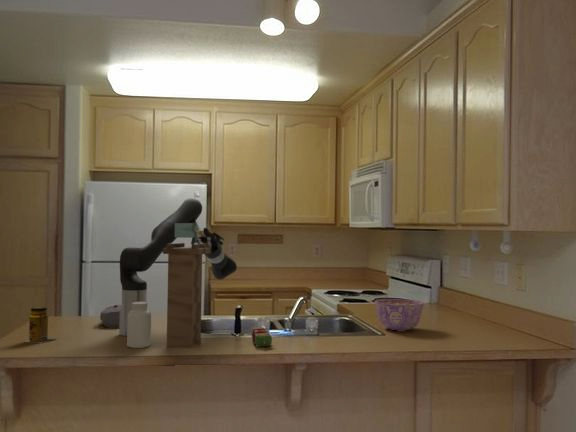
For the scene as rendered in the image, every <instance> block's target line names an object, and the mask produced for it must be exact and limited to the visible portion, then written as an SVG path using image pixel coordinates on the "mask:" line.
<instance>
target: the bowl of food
mask: <svg viewBox="0 0 576 432" xmlns="http://www.w3.org/2000/svg"><path fill="white" fill-rule="evenodd" d="M374 302H375V303H374V304H375V308H376V313H377V317H378V320H379V323H380V324H381V325H382V326H384V327H386V328H388V329H391V330H390V331H392V330H397V331H396V332H404V331H403V330H409V331H410V330H412V329H414V328H415V327H417V326H418V324H419V323H420V319H421V316H422V313H423V308H424V305H425V303H424V301H421V300H416V299H408V298H407V299H406V298H405V299H404V298H379V299H376V300H374Z"/></svg>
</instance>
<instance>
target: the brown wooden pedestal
mask: <svg viewBox="0 0 576 432" xmlns="http://www.w3.org/2000/svg"><path fill="white" fill-rule="evenodd" d="M209 253H211V248H208V244H206V243H205V244H197V243H194V244H191V246H189V247H188V246H185V242H177V243H176V242H175V243H173V242H172V243H171V244H167V248H163V252H162V254H163V255H168V256H167V260H168V261H167V299H166V300H167V305H166V306H167V308H166V311H167V312H166V313H167V314H166V316H167V317H166V347H167V348H180V349H182V348H183V349H193V348H194V347H196V346H198V345H200V344H201V343H202V338H201V337H202V285H203V282H202V281H203V278H202V277H203V255H204V254H209Z"/></svg>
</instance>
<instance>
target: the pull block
mask: <svg viewBox="0 0 576 432" xmlns="http://www.w3.org/2000/svg"><path fill="white" fill-rule="evenodd" d="M197 225H198V222H196V223H175V237H177V238H180V239H181V238H182V239H183V238H185V239H186V238H188V239H189V238H190V239H192V238H195V237H206V236H205V234H204V232H203V231H204V229H201V230H197Z"/></svg>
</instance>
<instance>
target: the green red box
mask: <svg viewBox="0 0 576 432" xmlns="http://www.w3.org/2000/svg"><path fill="white" fill-rule="evenodd" d="M251 338H252V343H253V344H254V345H255V346H256V347H258V348H261V347H270V346H272V341H273V338H272V335H271V333H270V331H268V330H267V329H266V328H264V327H257V326H256V327H252V333H251Z"/></svg>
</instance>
